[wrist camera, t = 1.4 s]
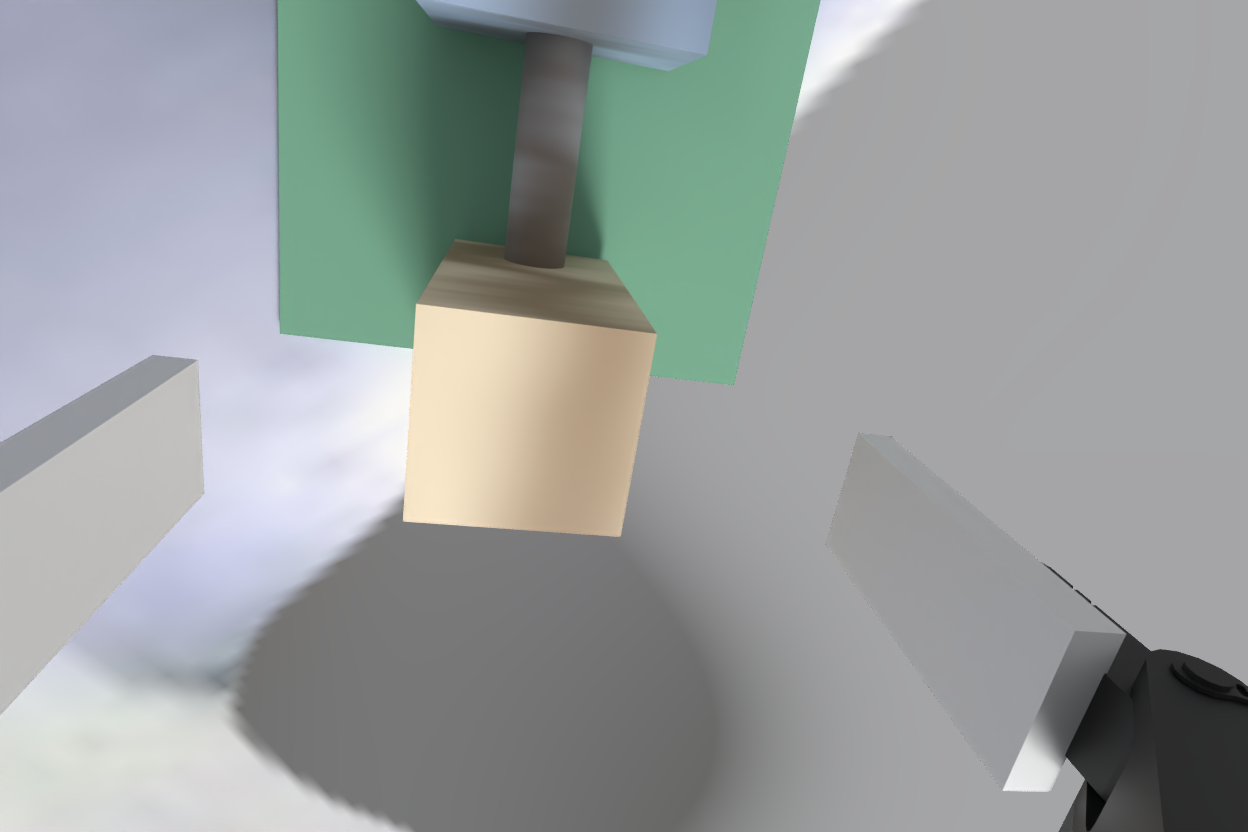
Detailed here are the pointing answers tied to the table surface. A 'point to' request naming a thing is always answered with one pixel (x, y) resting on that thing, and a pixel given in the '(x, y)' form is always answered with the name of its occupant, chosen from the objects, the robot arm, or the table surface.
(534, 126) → the rod slider
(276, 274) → the table surface
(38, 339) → the table surface
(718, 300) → the pitch mat
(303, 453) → the table surface
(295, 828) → the table surface
